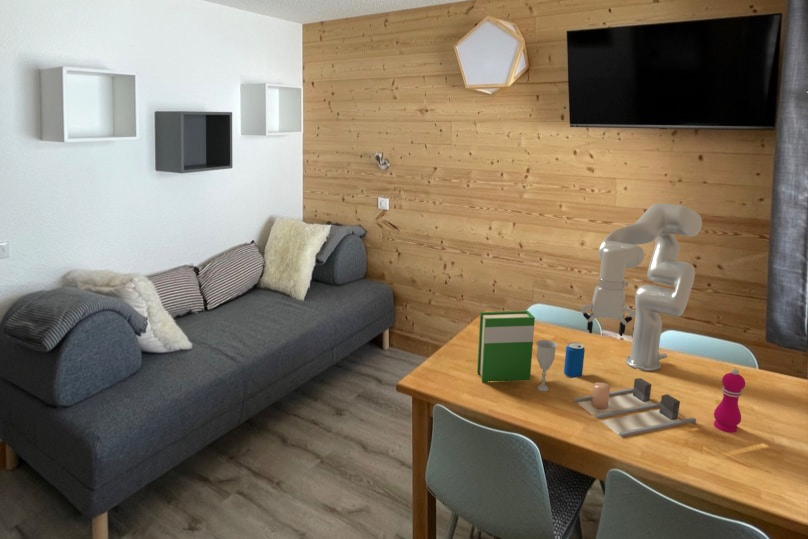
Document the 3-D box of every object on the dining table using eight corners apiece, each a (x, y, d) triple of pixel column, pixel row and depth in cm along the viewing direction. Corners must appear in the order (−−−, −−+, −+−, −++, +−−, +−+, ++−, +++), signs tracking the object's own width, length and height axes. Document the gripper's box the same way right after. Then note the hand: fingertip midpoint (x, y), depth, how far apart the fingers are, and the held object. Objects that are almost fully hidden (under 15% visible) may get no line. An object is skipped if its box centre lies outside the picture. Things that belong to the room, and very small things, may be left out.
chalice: (529, 387, 194) (533, 339, 189) (548, 387, 195) (552, 339, 190) (536, 397, 187) (540, 348, 182) (555, 397, 188) (560, 347, 183)
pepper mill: (713, 420, 174) (723, 362, 169) (739, 428, 170) (750, 368, 165) (710, 431, 168) (720, 370, 163) (737, 438, 164) (749, 376, 159)
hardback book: (482, 382, 198) (485, 319, 192) (477, 373, 205) (480, 312, 199) (529, 380, 200) (534, 317, 194) (523, 371, 207) (527, 310, 201)
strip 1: (635, 393, 189) (638, 375, 187) (653, 404, 182) (655, 386, 180) (576, 404, 181) (578, 385, 180) (591, 416, 174) (594, 397, 172)
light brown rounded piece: (601, 400, 183) (603, 381, 181) (611, 408, 178) (613, 388, 176) (588, 403, 181) (590, 383, 179) (598, 410, 176) (600, 390, 175)
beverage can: (582, 380, 200) (586, 349, 197) (564, 378, 202) (567, 347, 198) (580, 372, 206) (584, 342, 203) (563, 371, 208) (565, 341, 205)
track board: (640, 391, 192) (641, 385, 192) (696, 426, 170) (697, 419, 170) (572, 403, 183) (573, 397, 183) (622, 442, 162) (623, 435, 161)
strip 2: (662, 410, 178) (664, 391, 176) (681, 423, 171) (684, 403, 169) (600, 422, 170) (602, 403, 169) (617, 436, 163) (620, 416, 161)
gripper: (636, 283, 183) (630, 331, 187) (582, 279, 186) (577, 327, 191) (641, 289, 175) (634, 340, 180) (584, 285, 179) (579, 335, 183)
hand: (605, 333), depth 185 cm, fingers open, 9 cm apart
